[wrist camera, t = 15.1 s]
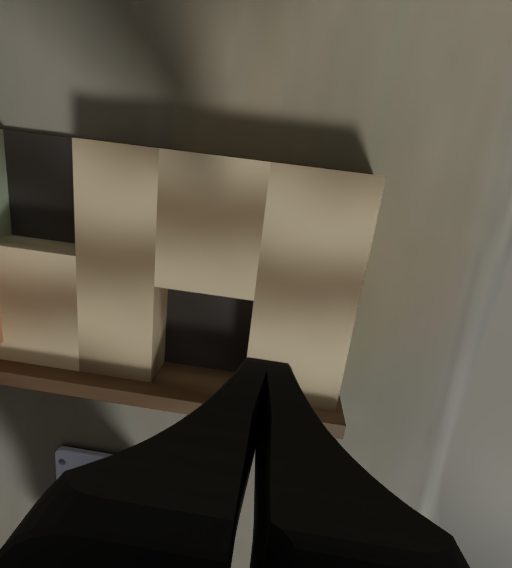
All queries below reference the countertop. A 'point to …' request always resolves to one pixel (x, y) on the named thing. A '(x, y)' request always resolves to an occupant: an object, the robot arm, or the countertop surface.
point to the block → (0, 333)
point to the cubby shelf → (176, 271)
